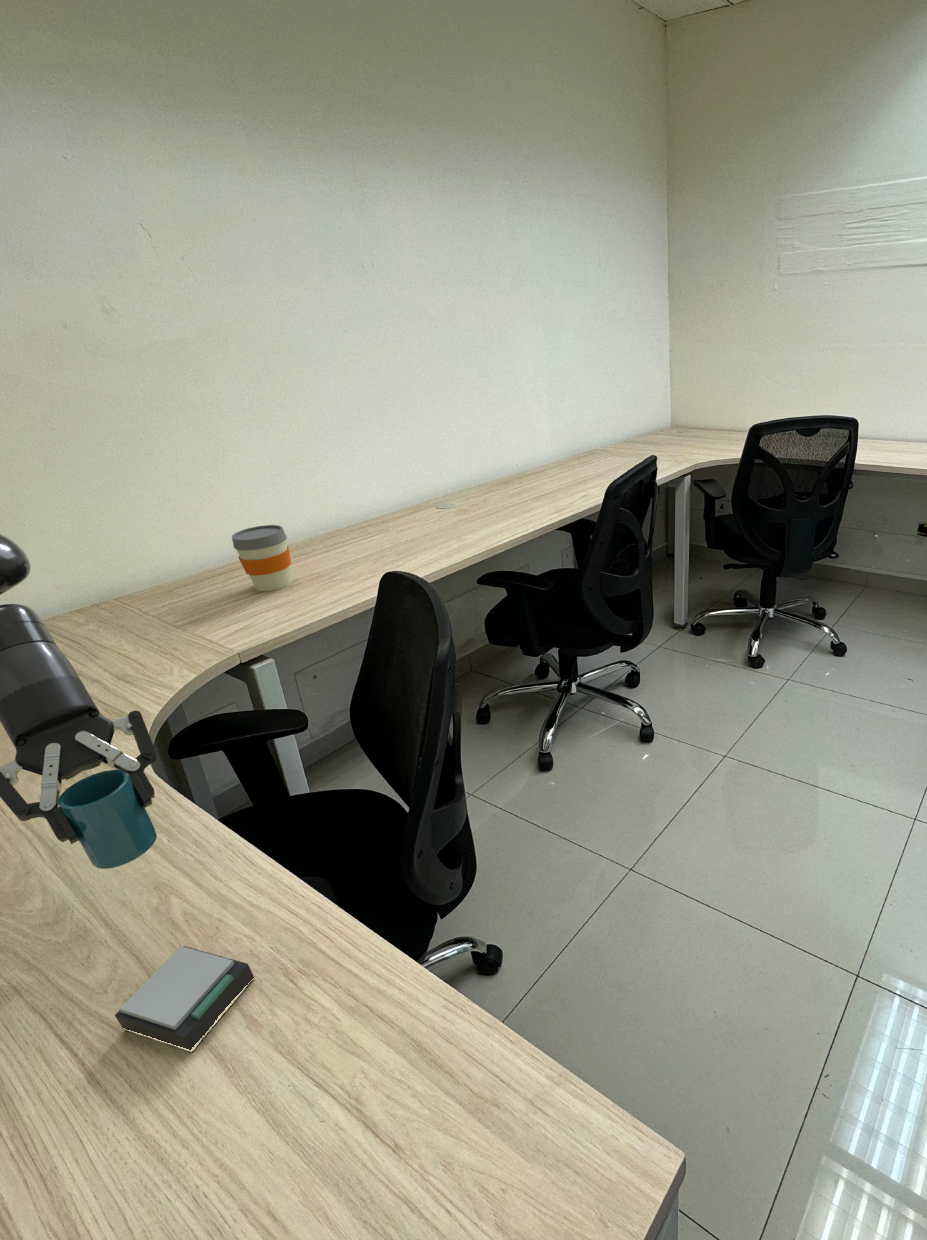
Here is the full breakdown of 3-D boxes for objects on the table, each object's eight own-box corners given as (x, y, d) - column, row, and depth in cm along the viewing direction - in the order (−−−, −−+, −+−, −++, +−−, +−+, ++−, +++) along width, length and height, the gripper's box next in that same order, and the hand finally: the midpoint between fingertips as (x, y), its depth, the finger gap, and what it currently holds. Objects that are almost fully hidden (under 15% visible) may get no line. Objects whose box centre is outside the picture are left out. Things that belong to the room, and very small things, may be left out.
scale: (123, 1030, 66) (111, 1011, 64) (191, 960, 73) (181, 941, 71) (192, 1053, 63) (180, 1034, 62) (255, 978, 70) (246, 959, 69)
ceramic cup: (78, 863, 70) (43, 803, 66) (129, 824, 75) (100, 766, 72) (119, 873, 68) (86, 812, 65) (169, 832, 74) (141, 774, 70)
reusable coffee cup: (237, 592, 171) (218, 538, 165) (274, 574, 182) (258, 523, 176) (274, 596, 168) (256, 541, 161) (309, 577, 178) (294, 525, 172)
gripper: (-61, 712, 63) (20, 857, 61) (113, 652, 73) (187, 776, 71) (-43, 736, 68) (33, 871, 67) (117, 678, 78) (186, 793, 76)
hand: (112, 821), depth 69 cm, fingers closed on ceramic cup, 6 cm apart
